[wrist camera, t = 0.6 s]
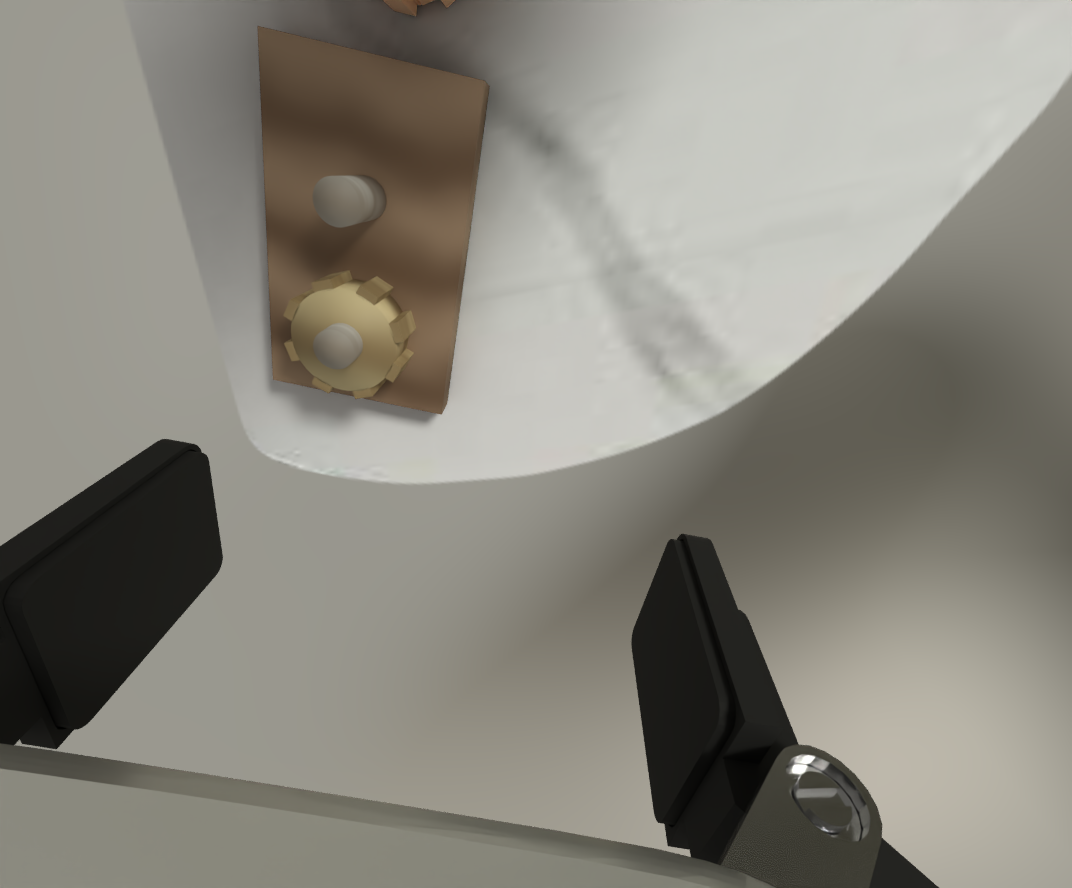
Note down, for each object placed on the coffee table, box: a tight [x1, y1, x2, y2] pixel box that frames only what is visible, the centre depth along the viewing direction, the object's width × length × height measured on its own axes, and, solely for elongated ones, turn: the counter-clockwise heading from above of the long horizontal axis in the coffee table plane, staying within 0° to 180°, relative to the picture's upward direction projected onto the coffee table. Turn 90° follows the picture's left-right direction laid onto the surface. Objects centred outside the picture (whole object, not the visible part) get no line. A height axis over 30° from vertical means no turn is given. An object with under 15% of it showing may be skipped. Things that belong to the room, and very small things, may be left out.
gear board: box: [258, 26, 490, 414], centre depth 30 cm, size 20×12×6 cm, turn 168°
